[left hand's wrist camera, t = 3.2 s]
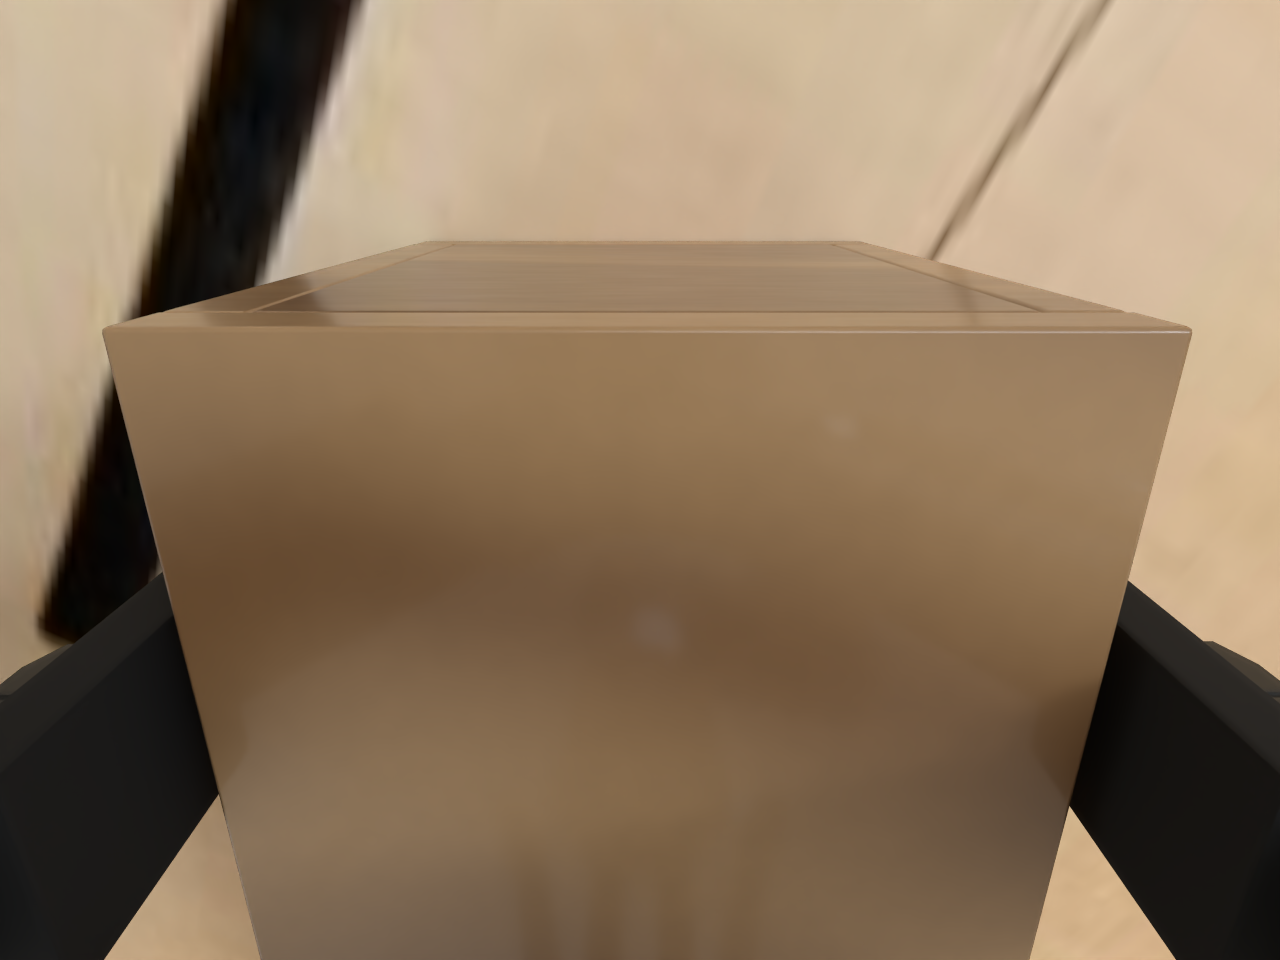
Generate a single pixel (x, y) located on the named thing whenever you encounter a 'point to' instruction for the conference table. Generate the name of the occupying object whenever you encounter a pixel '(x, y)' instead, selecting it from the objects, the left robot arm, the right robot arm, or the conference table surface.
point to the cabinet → (646, 591)
